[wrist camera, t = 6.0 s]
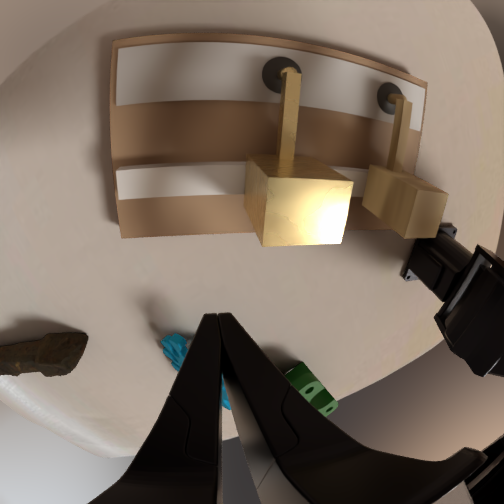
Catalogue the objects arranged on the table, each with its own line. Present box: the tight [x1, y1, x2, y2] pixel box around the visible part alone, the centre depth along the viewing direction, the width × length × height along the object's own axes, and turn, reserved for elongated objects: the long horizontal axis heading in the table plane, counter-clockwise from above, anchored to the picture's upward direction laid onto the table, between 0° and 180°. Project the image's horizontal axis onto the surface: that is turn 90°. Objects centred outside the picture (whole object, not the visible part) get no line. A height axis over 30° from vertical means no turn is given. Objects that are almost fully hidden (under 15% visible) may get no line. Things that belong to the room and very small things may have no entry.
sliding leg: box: [243, 67, 353, 247], centre depth 13 cm, size 4×8×6 cm, turn 176°
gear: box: [161, 333, 231, 410], centre depth 25 cm, size 11×6×10 cm
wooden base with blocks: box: [110, 33, 449, 239], centre depth 14 cm, size 22×13×8 cm, turn 86°
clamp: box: [284, 362, 338, 417], centre depth 31 cm, size 12×6×9 cm, turn 23°
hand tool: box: [0, 332, 88, 377], centre depth 21 cm, size 19×4×5 cm, turn 100°
